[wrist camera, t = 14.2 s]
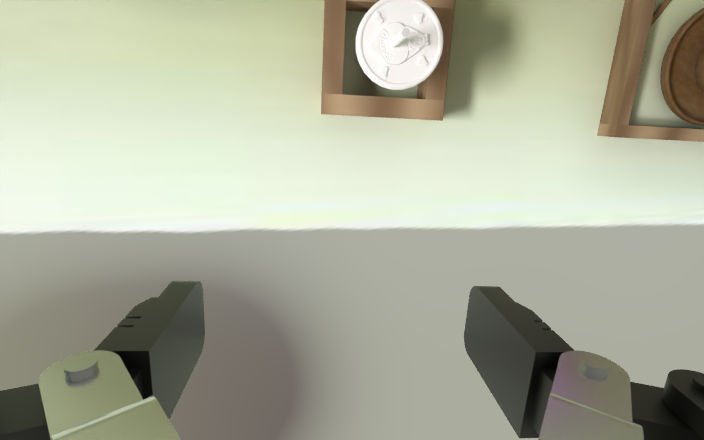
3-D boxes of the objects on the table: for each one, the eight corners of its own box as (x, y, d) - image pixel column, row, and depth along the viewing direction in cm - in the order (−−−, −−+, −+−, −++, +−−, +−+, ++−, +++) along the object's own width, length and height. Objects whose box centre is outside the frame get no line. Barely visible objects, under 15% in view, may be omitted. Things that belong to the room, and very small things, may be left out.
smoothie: (342, 26, 37) (356, -21, 24) (410, 17, 37) (463, -35, 24) (351, 98, 39) (369, 92, 25) (417, 89, 39) (468, 78, 26)
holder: (321, 113, 39) (321, 113, 36) (325, -12, 37) (325, -26, 33) (430, 119, 40) (442, 120, 37) (442, -2, 38) (456, -15, 34)
